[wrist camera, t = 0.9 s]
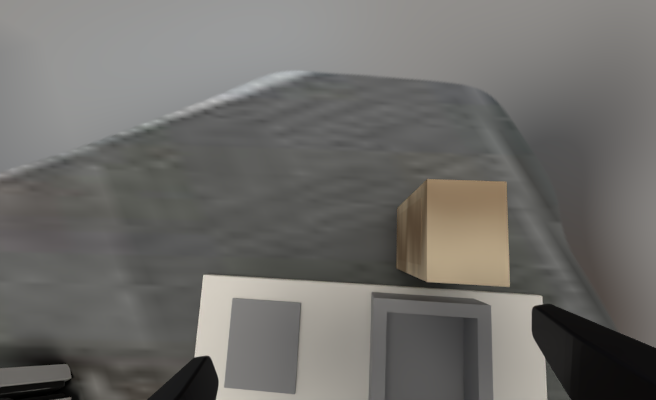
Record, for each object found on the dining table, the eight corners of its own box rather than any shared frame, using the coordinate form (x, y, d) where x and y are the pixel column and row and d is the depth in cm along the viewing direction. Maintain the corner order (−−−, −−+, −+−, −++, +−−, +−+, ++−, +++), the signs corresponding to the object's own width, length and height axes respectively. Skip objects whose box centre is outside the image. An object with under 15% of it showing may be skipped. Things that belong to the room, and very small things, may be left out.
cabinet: (542, 434, 21) (580, 472, 17) (194, 400, 23) (166, 427, 19) (535, 294, 22) (569, 303, 19) (208, 274, 24) (183, 278, 21)
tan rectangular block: (443, 270, 23) (510, 287, 13) (396, 268, 23) (426, 282, 14) (443, 209, 24) (506, 181, 14) (397, 208, 24) (426, 179, 14)
